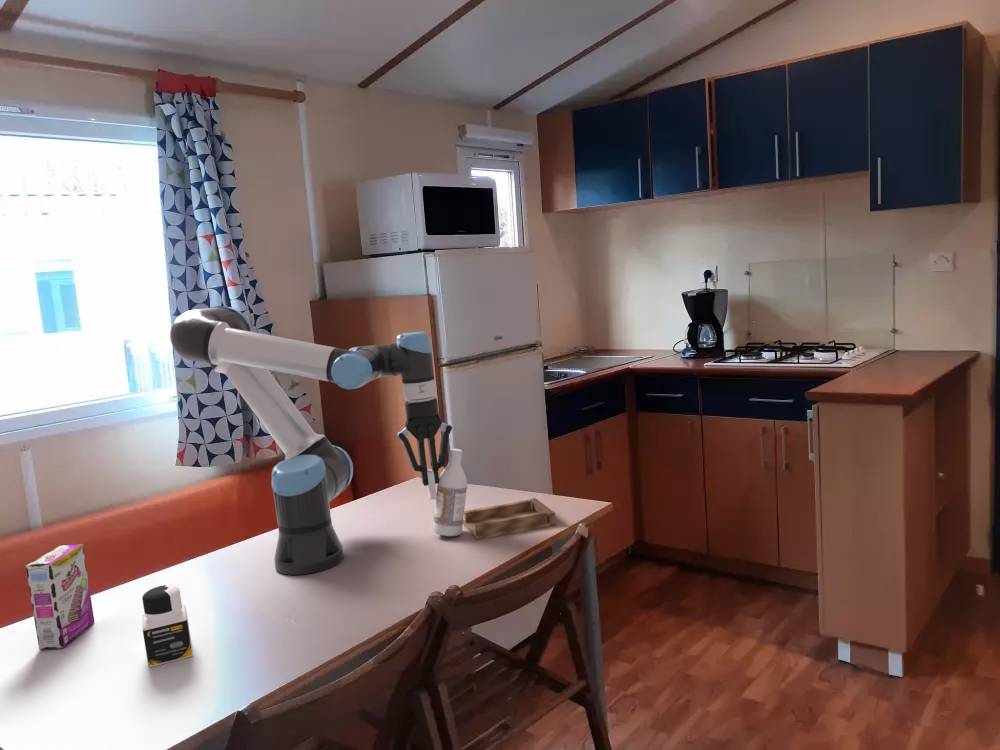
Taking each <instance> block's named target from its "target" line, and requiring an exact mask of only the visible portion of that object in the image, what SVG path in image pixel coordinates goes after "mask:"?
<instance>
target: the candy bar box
mask: <svg viewBox="0 0 1000 750" xmlns="http://www.w3.org/2000/svg"><path fill="white" fill-rule="evenodd" d="M25 568H26V569H25V571H26V576H27V577H26V578H27V581H28V588H29V594H30V601H31V605H32V612H33V613H32V614H33V620H34V626H35V633H36V638H37V645H38V650H40V651H45V650H61V649H64V648H66V647H67V646H68V645H69V644H71V643H72V642H73V641H74V640H75V639H76V638H77V637H79V635H81V634H82V633H83V632H85V631H86V630H87V629H89V628H90V627H91V626H92V625H94V623H95V616H94V608H93V603H92V597H91V596H92V595H91V591H90V584H89V577H88V576H89V575H88V569H87V562H86V557H85V550H84V544H82V543H80V544H66V545H59V546H57V547H55V548H54V549H52V550H51V551H48V552H47V553H45V554H43V555H42V556H39V557H38V558H37V559H35V560H33V561H31V562H30V563H28V564H27V565H25Z"/></svg>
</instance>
